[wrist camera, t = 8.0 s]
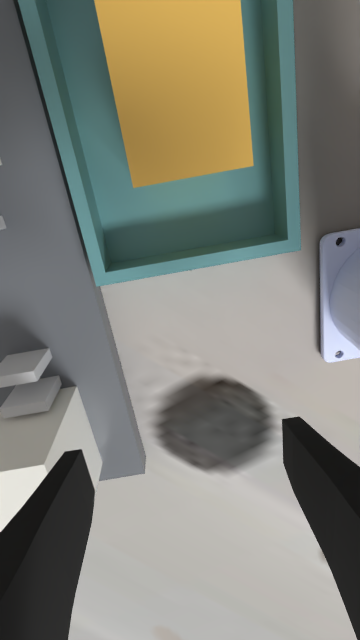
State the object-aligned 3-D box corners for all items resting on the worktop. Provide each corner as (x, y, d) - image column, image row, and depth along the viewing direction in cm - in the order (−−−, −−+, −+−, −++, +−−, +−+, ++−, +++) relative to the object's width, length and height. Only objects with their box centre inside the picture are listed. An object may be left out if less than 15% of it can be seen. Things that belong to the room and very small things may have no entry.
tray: (263, -110, 14) (287, -179, 11) (281, 240, 19) (301, 250, 16) (18, -62, 14) (-15, -118, 11) (105, 272, 19) (96, 286, 16)
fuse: (76, 386, 20) (43, 464, 14) (102, 462, 22) (82, 556, 17) (10, 397, 20) (-48, 480, 14) (42, 472, 22) (3, 569, 17)
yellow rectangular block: (206, 18, 14) (234, -85, 9) (222, 171, 17) (253, 165, 11) (113, 36, 14) (82, -55, 9) (142, 186, 17) (133, 188, 11)
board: (11, -43, 14) (-44, -124, 10) (145, 456, 24) (142, 506, 20) (-201, -1, 14) (-330, -67, 10) (22, 477, 24) (-4, 530, 21)
